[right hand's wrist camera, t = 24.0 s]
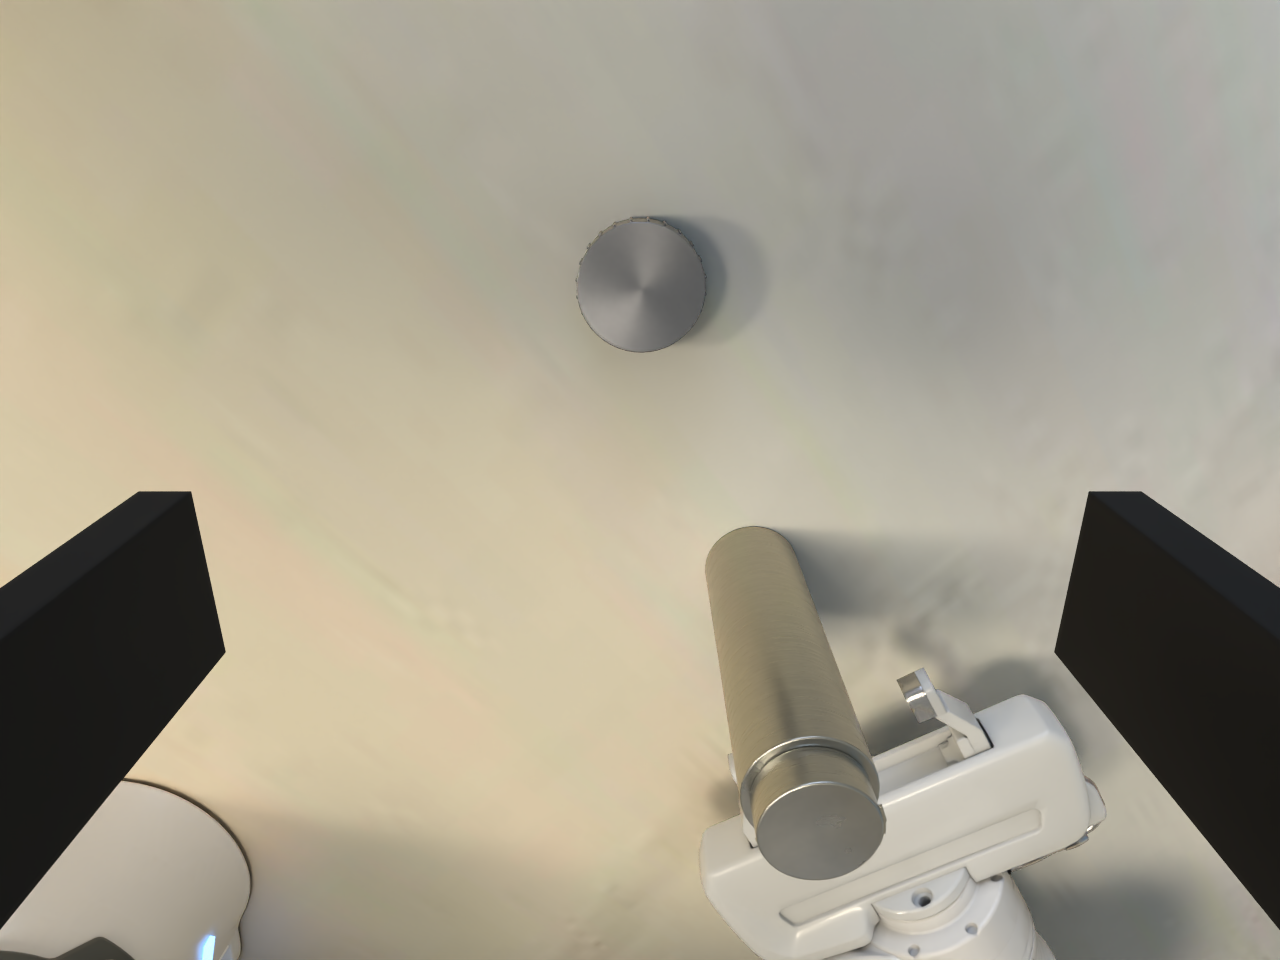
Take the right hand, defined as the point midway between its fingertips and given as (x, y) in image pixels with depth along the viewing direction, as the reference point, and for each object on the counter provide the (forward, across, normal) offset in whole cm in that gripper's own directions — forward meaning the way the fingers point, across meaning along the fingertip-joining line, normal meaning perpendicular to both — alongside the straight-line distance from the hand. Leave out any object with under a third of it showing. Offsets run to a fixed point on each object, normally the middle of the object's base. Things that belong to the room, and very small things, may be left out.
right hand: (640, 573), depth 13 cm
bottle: (+30, +6, -16) cm, 34 cm away
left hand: (+23, +9, -21) cm, 33 cm away
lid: (+28, 0, 0) cm, 28 cm away
